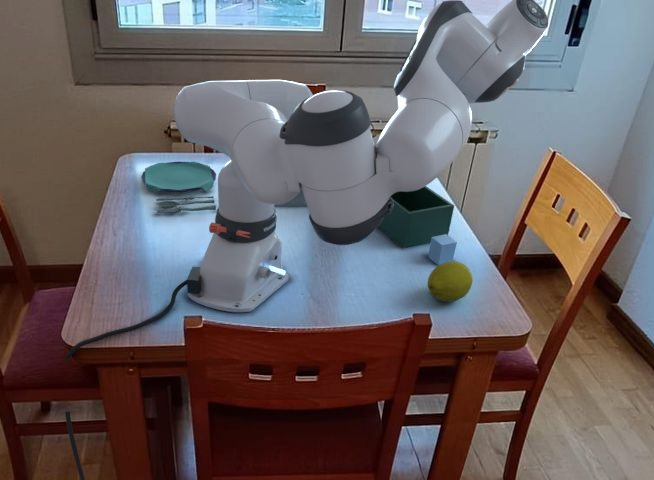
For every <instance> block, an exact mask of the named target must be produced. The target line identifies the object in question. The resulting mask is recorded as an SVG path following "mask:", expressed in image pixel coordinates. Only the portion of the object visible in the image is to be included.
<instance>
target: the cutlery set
mask: <svg viewBox="0 0 654 480" xmlns="http://www.w3.org/2000/svg"><path fill="white" fill-rule="evenodd" d="M140 178H141V180H142V183H143V184H145V187H146V188H147V189H148V190H151V191H154V192H156V193H158V192H159V191H161V192H168V193H188V192H195V191H198V190H205V191H206V192H208V193H209V191H210V190H211V189H212V188H213V187H214V184H215V183H214V182H215V181H216V179H217V173H216V172H215V170H214V169H212V168H211V166H210V165H208V164H205V163H201V162H198V161H170V162H157V163H154V164H152V165H150V166H147V167H145V168H144V171H143V172H142V174H141V176H140ZM195 199H205V200H195ZM183 200H185V202H181V203H180V202H178V201H183ZM189 200H190V201H189ZM193 200H195V201H193ZM155 201H156V203H155V206H156V207H159V208H163V209H156V214H180V213H182V212H201V211H217V206H216V205H207V206H201V207H181V206H185V205H196V204H197V205H198V204H215V199H214V195H211V196H193V195H189V196H187V195H185V197H182V196H181V197H180V196H179V197H177V196H176V197H159V198H156V199H155ZM188 201H189V202H188ZM178 206H179V207H178Z"/></svg>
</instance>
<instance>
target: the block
mask: <svg viewBox="0 0 654 480" xmlns="http://www.w3.org/2000/svg"><path fill="white" fill-rule="evenodd" d="M457 244H458V241H456V240H455V239H453V238H452V237H451V236H450V235H449V234H448V235H447V234H445V235H440V236H435V237H431V242H430V243H429V249H428V252H427V253H428V254H427V257H428V258H429V259H430V260H431V261H433V262H434V263H435V265H437V266H439V265H440V264H442V263H445V262H449V261H454V257H455V253H456V249H457Z"/></svg>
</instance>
